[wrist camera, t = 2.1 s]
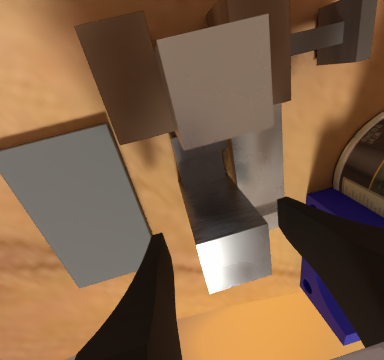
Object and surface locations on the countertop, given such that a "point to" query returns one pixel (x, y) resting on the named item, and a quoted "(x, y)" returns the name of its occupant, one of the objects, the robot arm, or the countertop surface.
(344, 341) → the blue cradle bracket
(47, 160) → the pad
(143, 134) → the vise
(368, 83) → the countertop surface
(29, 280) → the countertop surface
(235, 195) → the gray stepped bracket
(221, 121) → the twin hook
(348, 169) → the coffee can
